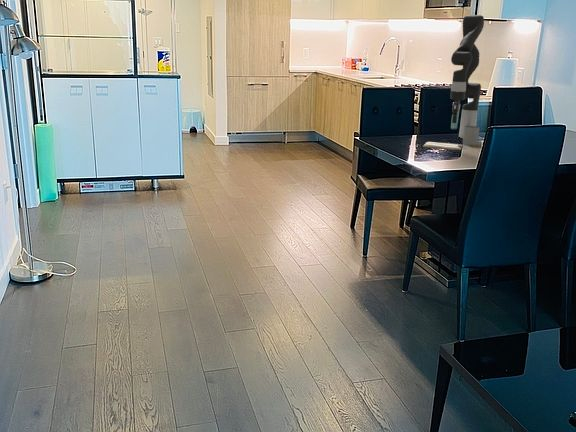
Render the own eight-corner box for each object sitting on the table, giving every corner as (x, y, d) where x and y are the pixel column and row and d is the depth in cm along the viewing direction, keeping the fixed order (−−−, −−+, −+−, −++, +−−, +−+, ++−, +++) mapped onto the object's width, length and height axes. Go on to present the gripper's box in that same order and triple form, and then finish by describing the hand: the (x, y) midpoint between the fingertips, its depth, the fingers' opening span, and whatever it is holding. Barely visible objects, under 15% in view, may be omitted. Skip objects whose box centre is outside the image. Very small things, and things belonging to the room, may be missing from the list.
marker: (450, 128, 311) (453, 105, 307) (457, 129, 310) (460, 106, 306) (450, 129, 308) (452, 106, 304) (456, 129, 307) (459, 106, 303)
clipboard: (426, 143, 326) (427, 140, 326) (462, 146, 319) (463, 143, 319) (423, 147, 314) (423, 143, 313) (460, 150, 307) (460, 147, 306)
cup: (461, 144, 326) (463, 127, 323) (463, 142, 333) (465, 125, 330) (476, 145, 322) (478, 128, 320) (478, 143, 330) (480, 126, 327)
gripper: (452, 89, 310) (449, 120, 315) (449, 90, 298) (445, 123, 303) (466, 89, 308) (462, 121, 313) (464, 91, 295) (460, 124, 300)
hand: (454, 122), depth 308 cm, fingers closed on marker, 3 cm apart
